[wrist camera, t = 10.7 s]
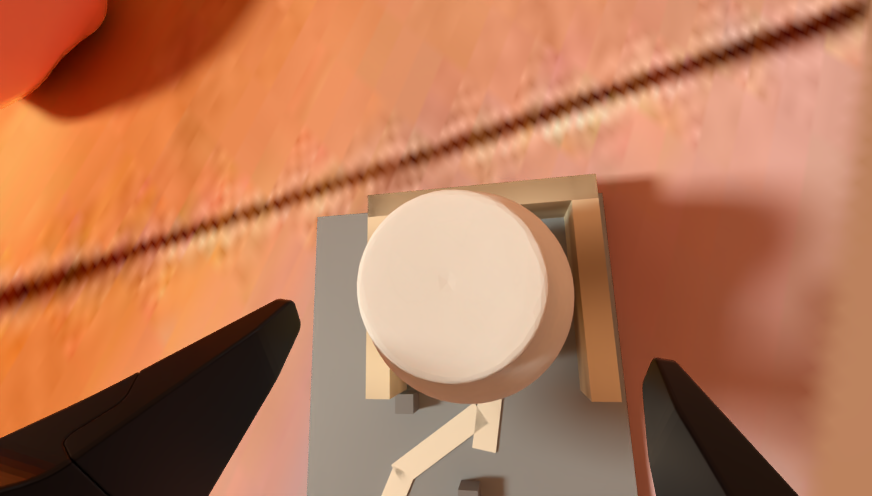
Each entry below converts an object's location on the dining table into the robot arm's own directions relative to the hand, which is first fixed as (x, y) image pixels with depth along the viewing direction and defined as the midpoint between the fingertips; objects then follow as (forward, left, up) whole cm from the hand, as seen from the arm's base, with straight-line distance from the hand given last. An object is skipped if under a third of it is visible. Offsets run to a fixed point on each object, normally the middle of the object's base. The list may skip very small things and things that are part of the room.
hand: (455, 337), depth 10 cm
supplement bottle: (+1, 0, -8) cm, 8 cm away
